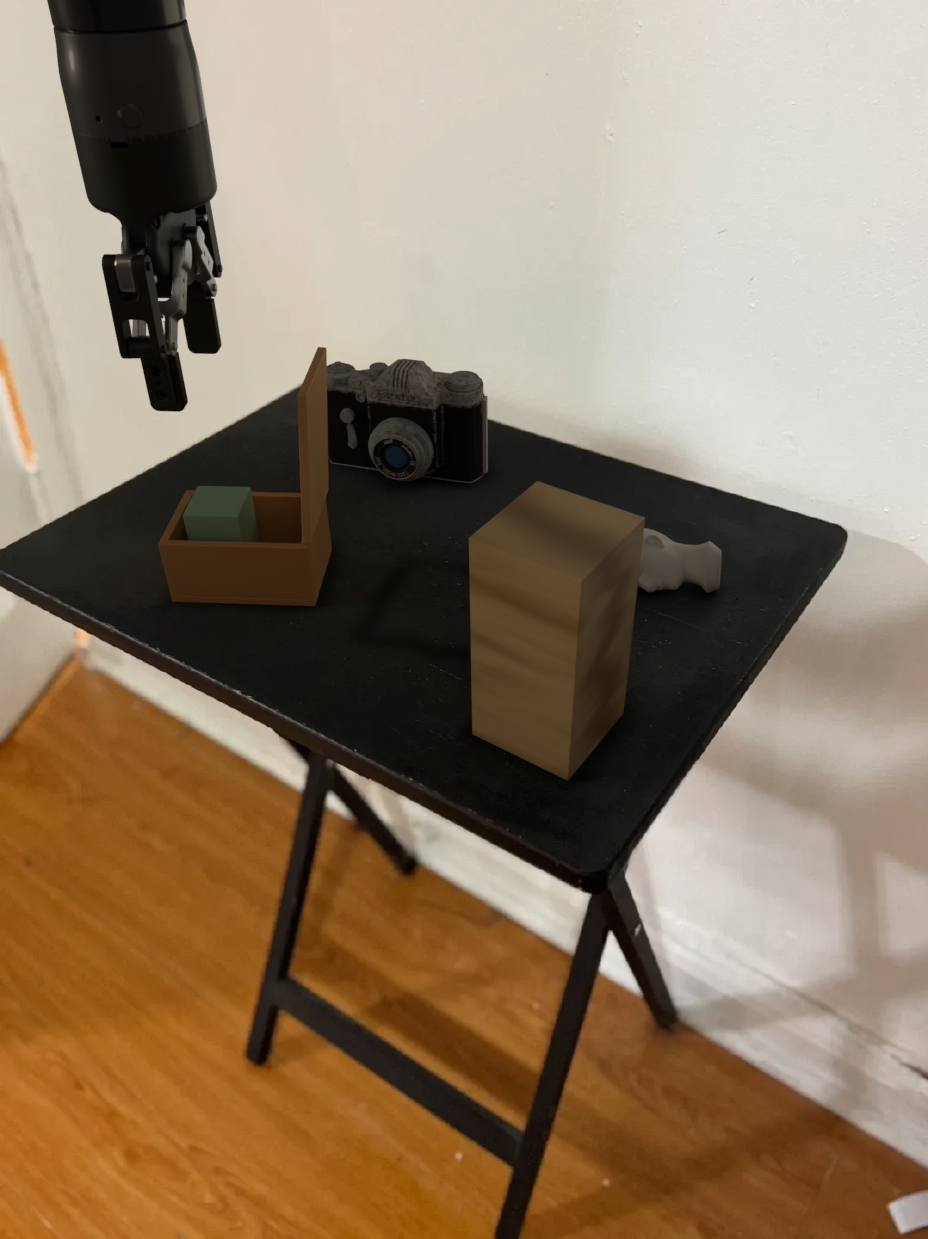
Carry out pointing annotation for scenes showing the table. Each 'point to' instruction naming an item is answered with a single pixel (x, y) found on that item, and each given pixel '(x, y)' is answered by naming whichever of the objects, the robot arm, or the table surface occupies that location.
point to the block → (221, 515)
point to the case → (249, 558)
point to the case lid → (313, 443)
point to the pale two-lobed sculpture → (677, 563)
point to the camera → (408, 421)
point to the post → (552, 624)
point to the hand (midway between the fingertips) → (188, 379)
